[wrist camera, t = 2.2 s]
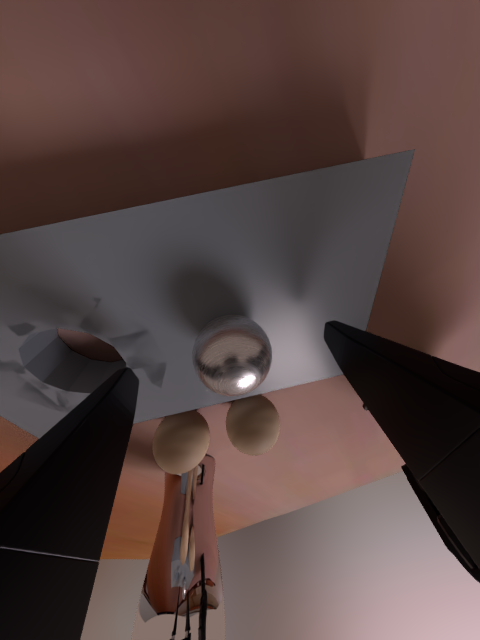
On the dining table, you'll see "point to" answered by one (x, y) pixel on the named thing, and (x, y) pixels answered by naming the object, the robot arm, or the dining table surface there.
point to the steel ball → (232, 355)
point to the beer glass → (184, 564)
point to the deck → (193, 286)
